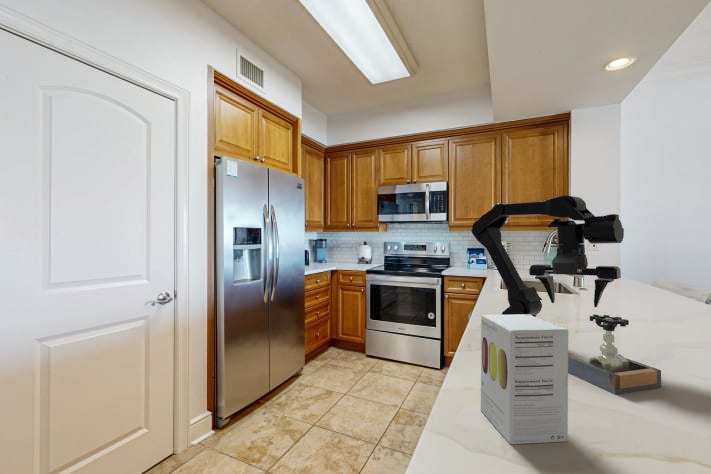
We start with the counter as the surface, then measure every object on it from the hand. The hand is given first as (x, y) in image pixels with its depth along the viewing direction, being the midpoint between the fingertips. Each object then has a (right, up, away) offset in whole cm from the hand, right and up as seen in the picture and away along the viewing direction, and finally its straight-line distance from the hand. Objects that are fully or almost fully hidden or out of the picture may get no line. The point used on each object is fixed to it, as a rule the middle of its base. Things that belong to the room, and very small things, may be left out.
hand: (573, 304), depth 80 cm
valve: (-2, -12, -13) cm, 18 cm away
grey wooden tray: (-1, -13, -13) cm, 19 cm away
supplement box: (-29, -13, -30) cm, 44 cm away
